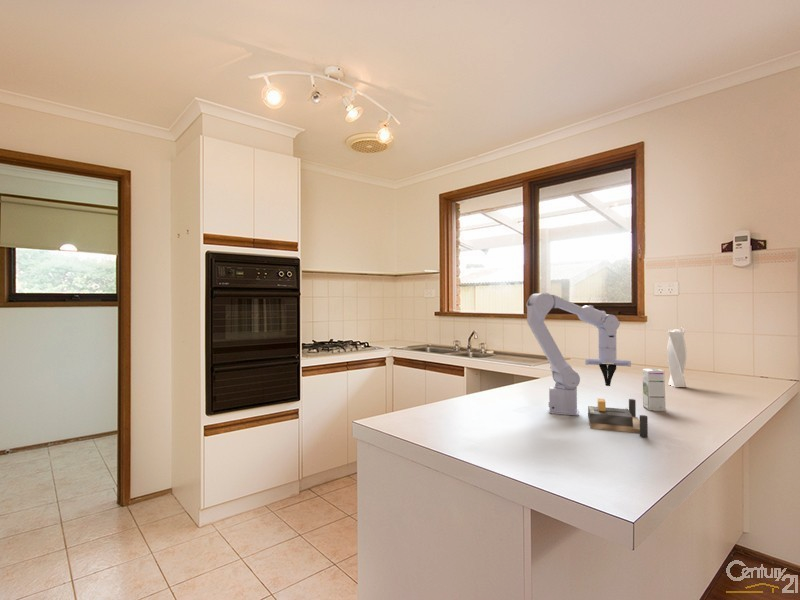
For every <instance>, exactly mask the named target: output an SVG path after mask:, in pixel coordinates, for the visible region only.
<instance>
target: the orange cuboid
mask: <svg viewBox="0 0 800 600" xmlns="http://www.w3.org/2000/svg"><path fill="white" fill-rule="evenodd" d="M597 407H598V410H599V411H606V408H607V407H606V400H605V398H597ZM605 407H606V408H605Z"/></svg>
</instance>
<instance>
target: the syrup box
mask: <svg viewBox="0 0 800 600" xmlns="http://www.w3.org/2000/svg"><path fill="white" fill-rule="evenodd" d="M641 370H642V400H643V402H642V403H643V408H645V410H648V411H650V410H653V412H666V409H667V408H666V384H665V383H666V378H665V377H666V376H665V371H664V370H662V369H659V368H642V369H641Z"/></svg>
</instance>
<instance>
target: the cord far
mask: <svg viewBox="0 0 800 600" xmlns="http://www.w3.org/2000/svg"><path fill="white" fill-rule="evenodd" d="M636 405H637V403H636V399H633V398H629V399H628V410H629V412H630V413H631V415H632V417H637V416H636V415H637V414H636V412H637V411H636Z"/></svg>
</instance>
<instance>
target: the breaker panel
mask: <svg viewBox="0 0 800 600" xmlns="http://www.w3.org/2000/svg"><path fill="white" fill-rule="evenodd" d="M587 407H588V408H587V419H588V422H589V427H590V429H595V430H604V431H605V430H606V431H613V432H614V431H617V432H626V433H635V432H636V433H635V434H640V418H639V417H638V416H636V417H632V415H631V413H630V412H629V408H615V407H606V406H605V408H606V411H599V410H598V406H592V405H591V406H590V405H588V406H587Z"/></svg>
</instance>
